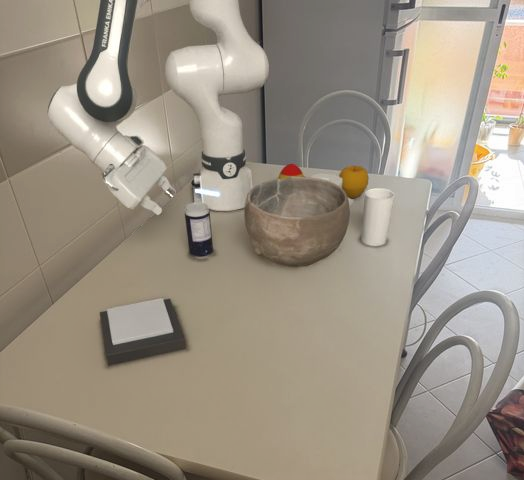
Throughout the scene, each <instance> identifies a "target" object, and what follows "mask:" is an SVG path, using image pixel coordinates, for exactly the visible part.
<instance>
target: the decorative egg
mask: <svg viewBox="0 0 524 480" xmlns="http://www.w3.org/2000/svg"><path fill="white" fill-rule="evenodd" d="M297 176H298V177H305V176H304V173H303V171H302V170H301V168H300V167H299V166H298V165H296V164H294V163H289V164H286V165H285V166H284V167H282V168H281V171H280V172H279V174H278V177H277V179H282V178H287V177H297Z"/></svg>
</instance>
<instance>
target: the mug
mask: <svg viewBox="0 0 524 480" xmlns="http://www.w3.org/2000/svg"><path fill="white" fill-rule="evenodd" d="M395 195H396V194H395V192H394V191H392V190H391V189H388V188H383V187H382V188H381V187H375V188H370V189H367V190H365V191H364V200H363V211H362V220H361V231H360V232H361V233H360V241H361V243H362V244H364V245H366V246H370V247H379V246H383V245H385V244H386V242H387V239H388V233H389V228H390V224H391V217H392V212H393V206H394V200H395Z"/></svg>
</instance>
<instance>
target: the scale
mask: <svg viewBox="0 0 524 480" xmlns="http://www.w3.org/2000/svg"><path fill="white" fill-rule="evenodd" d="M99 318H100V325H101V333H102V339H103V345H104V353H105V359H106V362H107V365H108V366H109V367H110V366H115V365H118V364H124V363H127V362H132V361H136V360H141V359H146V358H150V357H156V356H159V355H164V354H168V353H172V352H173V353H174V352H177V351H182V350H186V347H187V346H186V341H185V336H184V334H183V332H182V331H183V330H182V328H181V326H180V322H179V320H178V316H177V314H176V311H175V308H174V305H173V302H172V299H171V298H166V299H164V298H163V297H161V298H155V299H151V300H145V301H140V302H135V303H129V304H123V305H119V306H115V307H109V308H106V310H104V311H100V312H99Z"/></svg>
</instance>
